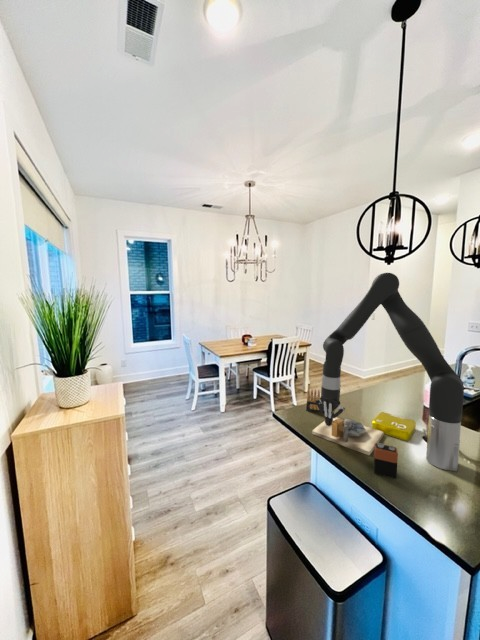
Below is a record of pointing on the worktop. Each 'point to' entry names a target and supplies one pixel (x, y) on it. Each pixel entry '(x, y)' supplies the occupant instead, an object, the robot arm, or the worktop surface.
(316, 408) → the ammunition clip
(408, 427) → the element tile
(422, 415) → the worktop surface
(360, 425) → the multicoloured piece
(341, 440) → the dial base
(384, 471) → the battery
